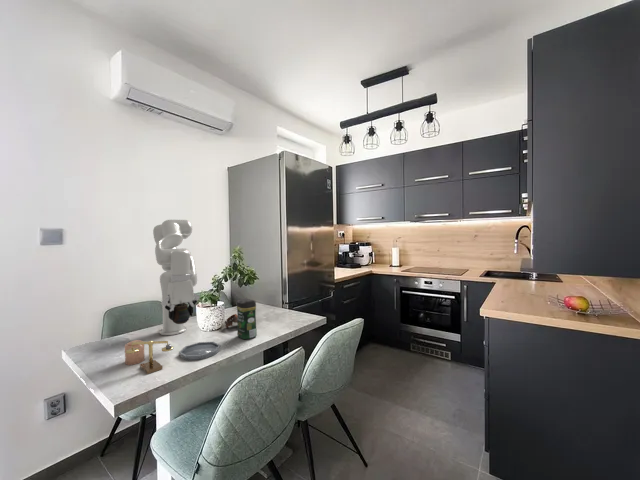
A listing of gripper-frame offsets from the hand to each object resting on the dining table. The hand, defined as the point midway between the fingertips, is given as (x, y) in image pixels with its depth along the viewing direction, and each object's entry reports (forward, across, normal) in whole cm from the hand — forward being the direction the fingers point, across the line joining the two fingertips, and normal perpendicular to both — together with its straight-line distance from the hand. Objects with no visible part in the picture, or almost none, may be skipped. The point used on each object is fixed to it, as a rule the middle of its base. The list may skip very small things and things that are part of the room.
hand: (181, 317), depth 124 cm
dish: (+13, -2, +13) cm, 19 cm away
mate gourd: (+3, 0, 0) cm, 3 cm away
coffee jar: (+13, -26, +12) cm, 31 cm away
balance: (+12, +16, +13) cm, 25 cm away
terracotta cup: (+13, +18, +1) cm, 22 cm away
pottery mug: (+14, -30, -5) cm, 34 cm away
